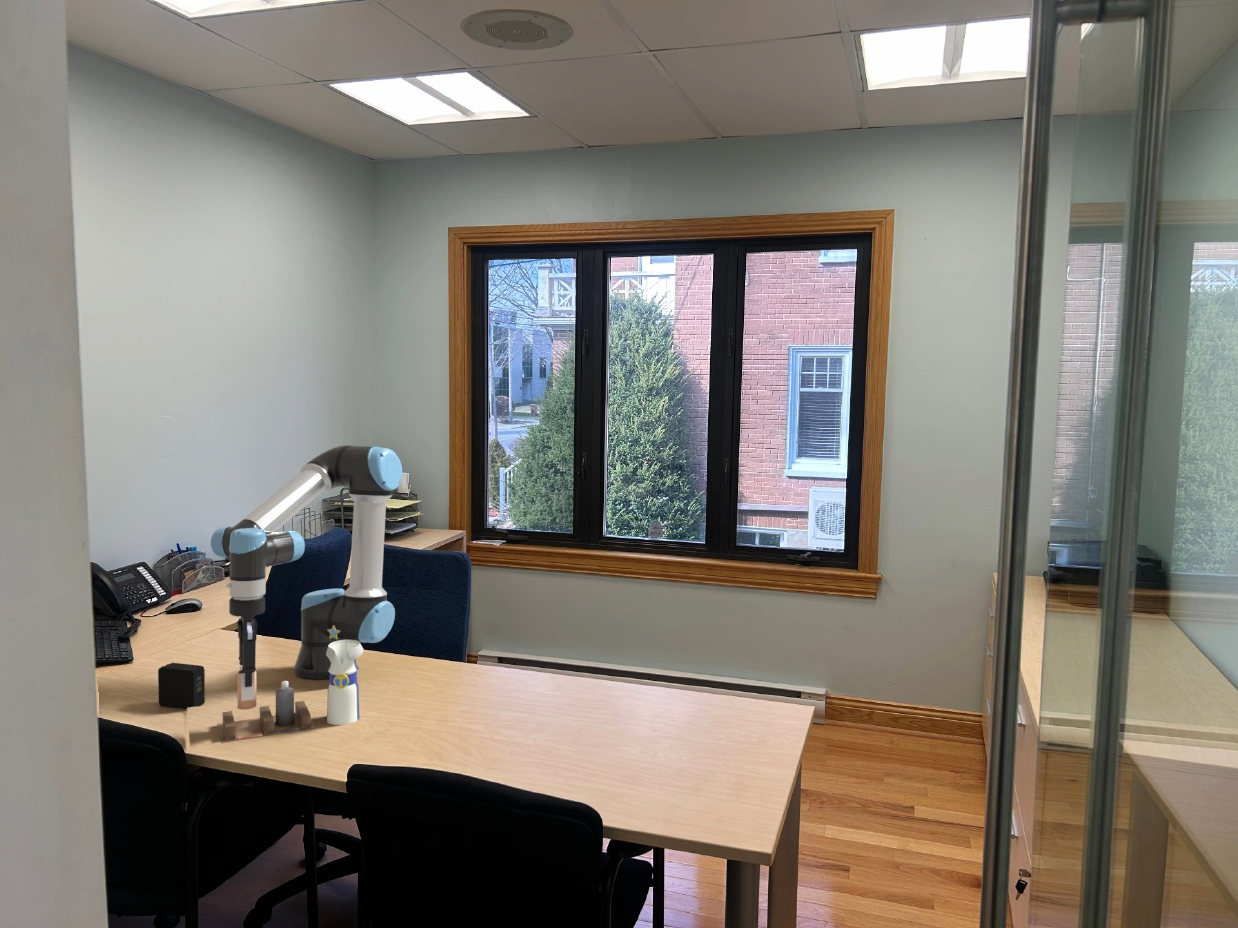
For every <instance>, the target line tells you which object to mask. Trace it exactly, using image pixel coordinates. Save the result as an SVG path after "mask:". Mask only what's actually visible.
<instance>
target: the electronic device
mask: <svg viewBox="0 0 1238 928" xmlns="http://www.w3.org/2000/svg"><path fill="white" fill-rule="evenodd" d="M205 670H206V669H205V667H204V666H203V665H199V664H198V665H197V664H190V663H189V664H188V663H180V662H170V663H167V664H166V665H161V667H159V668H158V670H157V680H158V681H157V682H158V683H157V684H158V686H157V687H158V696H157V697H158V705H159V706H160V707H161V708H169V709H179V710H188V709H189V708H194V707H195V708H196V707H200V706H202V705H204V704H205V701H206V697H205V696H206V693H205V692H206V681H205V679H206V678H205V674H206V672H205Z"/></svg>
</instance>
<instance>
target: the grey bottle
mask: <svg viewBox="0 0 1238 928" xmlns="http://www.w3.org/2000/svg"><path fill="white" fill-rule="evenodd" d="M294 713H295V688H293V687H291V686H289V681H288V680H283V681H281V682H280V688H277V689H276V690H275V715H276V725H277V726H281V727H284V726H289V725H292V724H293V723H294Z"/></svg>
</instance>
